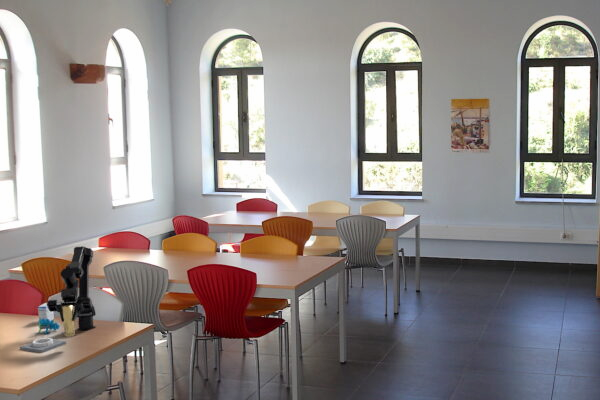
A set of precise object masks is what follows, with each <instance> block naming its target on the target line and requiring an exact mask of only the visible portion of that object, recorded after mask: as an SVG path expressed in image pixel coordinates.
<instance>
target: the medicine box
mask: <svg viewBox="0 0 600 400" xmlns="http://www.w3.org/2000/svg"><path fill="white" fill-rule="evenodd" d="M37 313H38V321H39V320H40V319H41V320H42V319H43V318H44V319H45V320H46V319H49V320H50V321H51V320H53V321H54V320H55V316H54V314H55V311H52V312H51V311H49V309H48V307H47V302H45V303H42V304H41V305H39V306H38V307H37Z"/></svg>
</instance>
